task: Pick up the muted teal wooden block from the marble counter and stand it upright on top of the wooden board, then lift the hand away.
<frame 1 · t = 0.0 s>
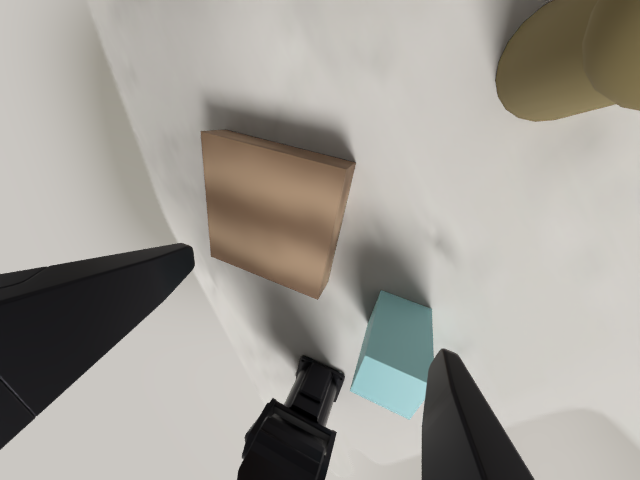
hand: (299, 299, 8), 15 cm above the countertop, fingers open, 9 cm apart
cork: (559, 62, 14), on the countertop
teal block: (397, 316, 25), on the countertop
wooden board: (280, 211, 25), on the countertop
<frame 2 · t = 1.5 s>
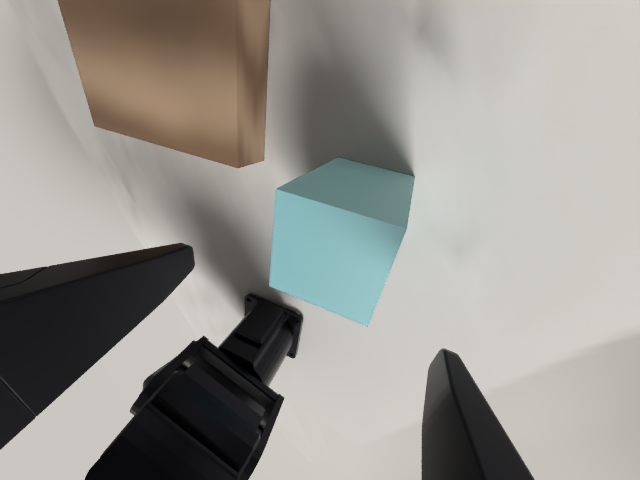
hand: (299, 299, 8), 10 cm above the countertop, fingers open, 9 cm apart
teal block: (364, 202, 17), on the countertop
wooden board: (183, 38, 16), on the countertop
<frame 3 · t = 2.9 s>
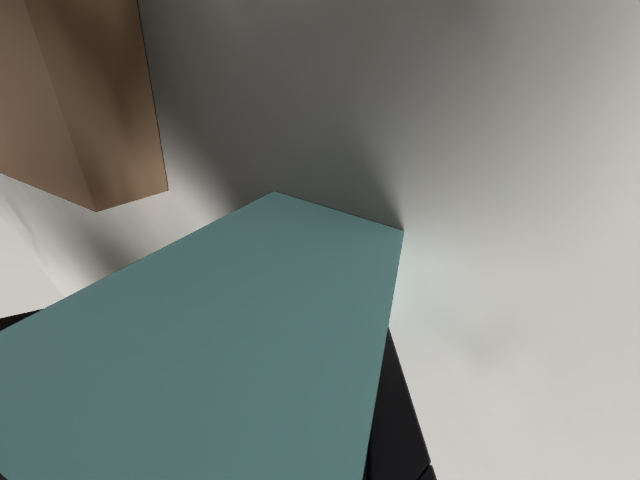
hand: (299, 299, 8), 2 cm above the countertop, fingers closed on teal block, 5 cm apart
teal block: (322, 264, 10), on the countertop, touching gripper
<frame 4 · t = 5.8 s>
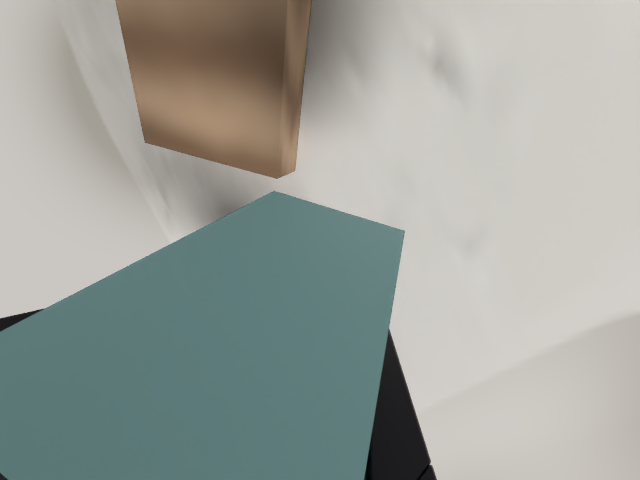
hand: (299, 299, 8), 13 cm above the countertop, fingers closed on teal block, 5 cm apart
teal block: (323, 264, 10), point 11 cm above the countertop, touching gripper
wooden board: (227, 67, 19), on the countertop
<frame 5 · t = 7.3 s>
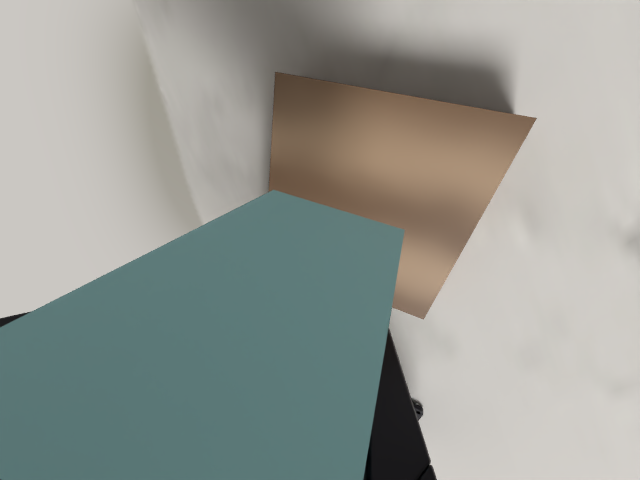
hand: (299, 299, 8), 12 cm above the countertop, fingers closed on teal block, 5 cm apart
teal block: (323, 263, 10), point 10 cm above the countertop, touching gripper
wooden board: (367, 196, 18), on the countertop
when the fingers open (7 cm above the countertop, at t = 8.7 s): teal block drops 2 cm, resting on wooden board.
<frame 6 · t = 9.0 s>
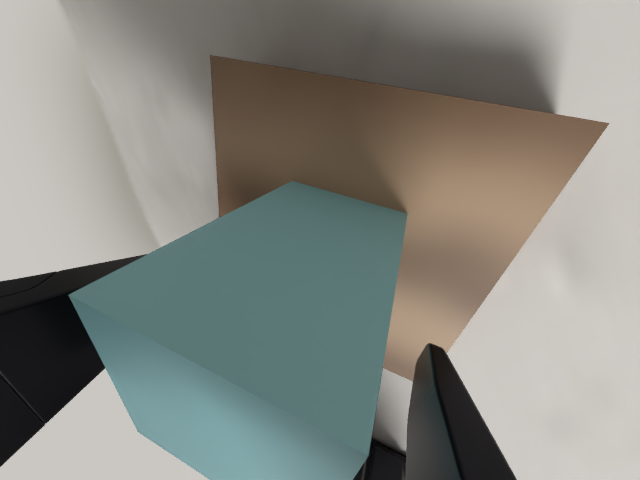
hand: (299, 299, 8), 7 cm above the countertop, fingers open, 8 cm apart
teal block: (335, 246, 11), point 3 cm above the countertop, touching wooden board
wooden board: (350, 223, 14), on the countertop
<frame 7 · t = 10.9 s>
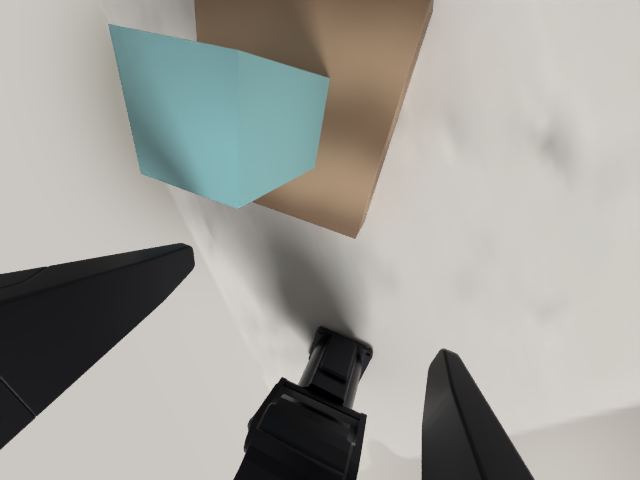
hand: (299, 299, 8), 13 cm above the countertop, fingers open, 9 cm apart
teal block: (285, 117, 15), point 3 cm above the countertop, touching wooden board
wooden board: (304, 116, 18), on the countertop
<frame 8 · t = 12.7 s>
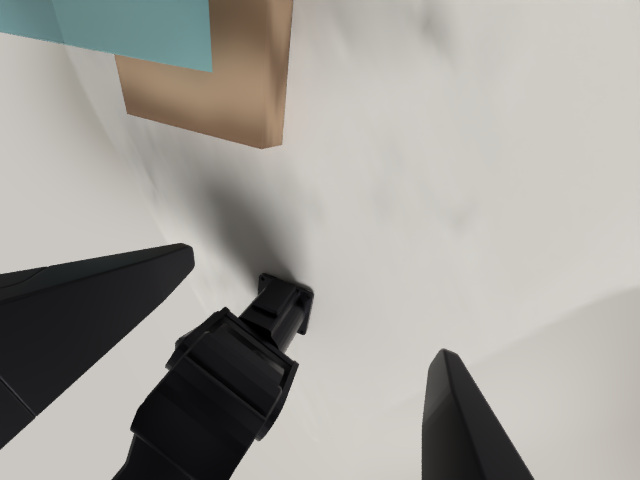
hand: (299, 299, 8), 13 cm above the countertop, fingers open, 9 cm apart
teal block: (177, 19, 15), point 3 cm above the countertop, touching wooden board
wooden board: (211, 33, 18), on the countertop
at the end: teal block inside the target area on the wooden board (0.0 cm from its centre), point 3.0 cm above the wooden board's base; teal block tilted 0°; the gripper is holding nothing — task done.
